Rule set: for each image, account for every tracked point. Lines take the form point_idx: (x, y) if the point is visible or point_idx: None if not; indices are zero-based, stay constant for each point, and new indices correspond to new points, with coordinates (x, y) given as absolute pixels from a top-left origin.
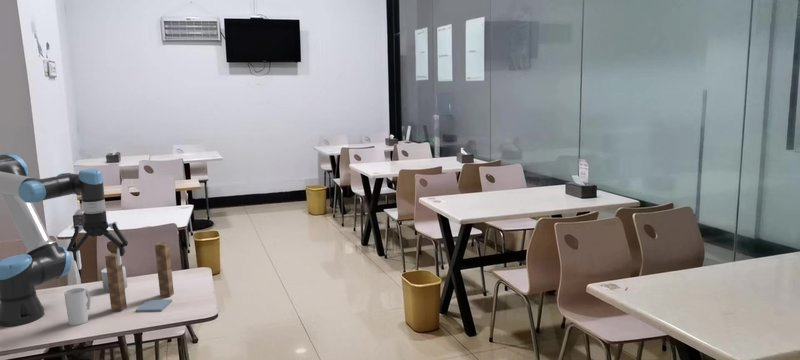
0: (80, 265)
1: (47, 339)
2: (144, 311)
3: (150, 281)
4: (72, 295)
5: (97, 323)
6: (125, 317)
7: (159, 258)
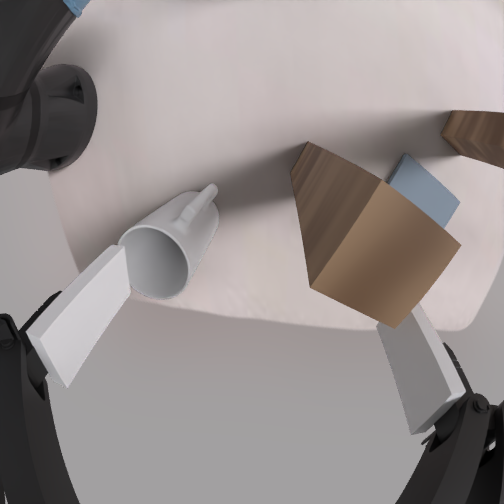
0: (117, 288)
1: None
2: None
3: None
4: (154, 295)
5: (247, 257)
6: None
7: None
